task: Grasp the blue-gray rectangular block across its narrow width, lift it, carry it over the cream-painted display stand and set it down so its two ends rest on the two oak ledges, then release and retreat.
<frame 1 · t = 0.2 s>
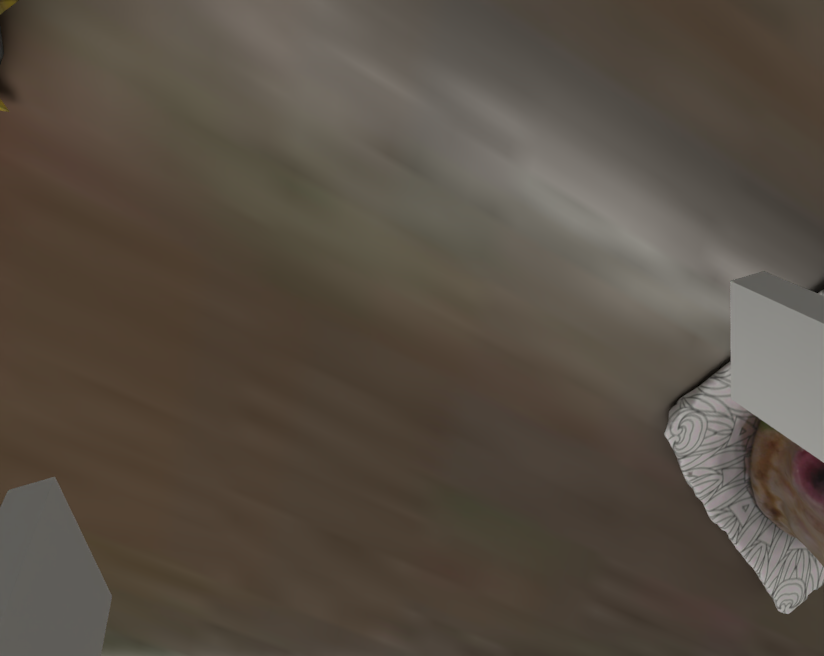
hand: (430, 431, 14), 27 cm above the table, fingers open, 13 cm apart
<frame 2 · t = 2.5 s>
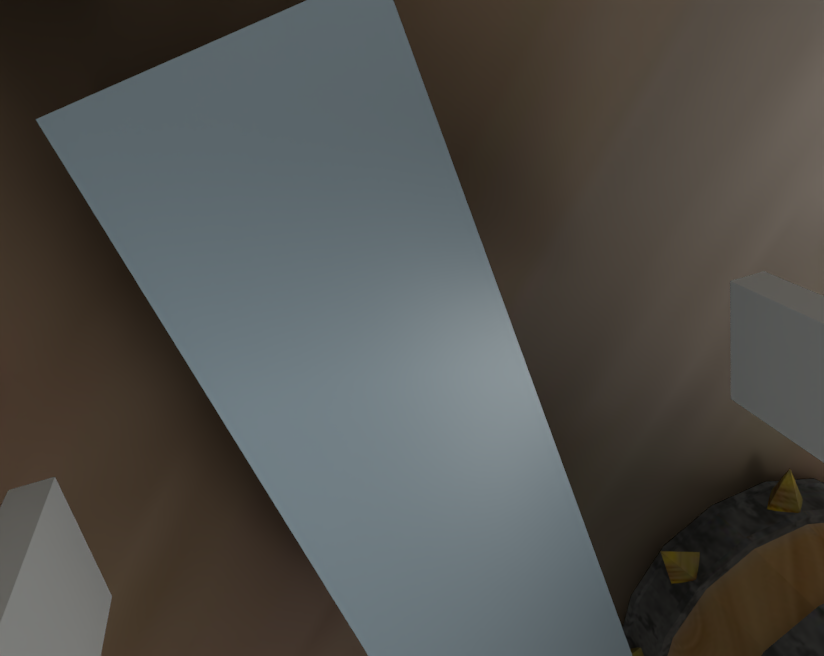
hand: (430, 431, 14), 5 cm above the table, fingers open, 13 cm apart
blue-gray rectangular block: (351, 338, 18), on the table
mug: (705, 642, 26), on the table
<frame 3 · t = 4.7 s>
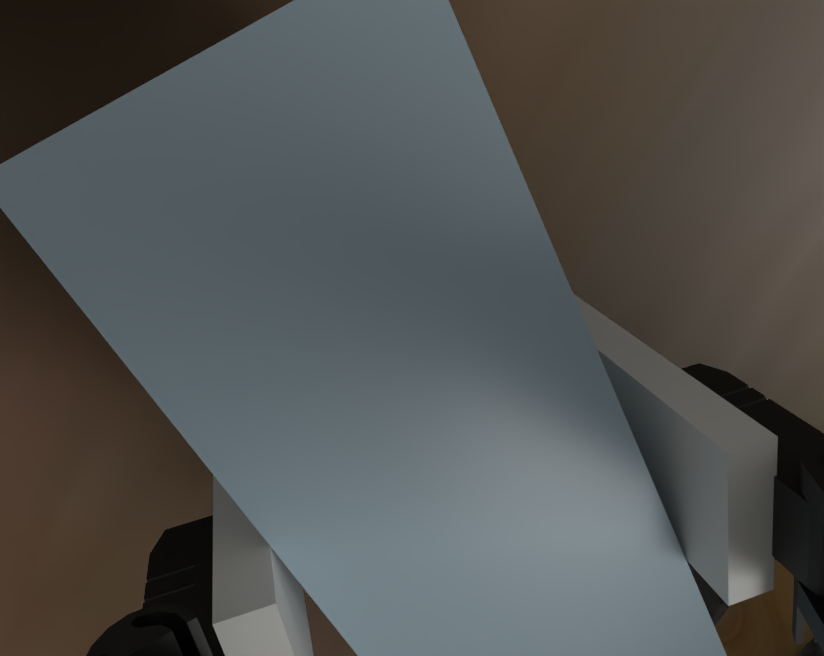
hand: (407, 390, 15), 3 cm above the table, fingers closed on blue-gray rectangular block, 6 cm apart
blue-gray rectangular block: (400, 377, 16), point 3 cm above the table, touching gripper
mug: (744, 636, 26), on the table
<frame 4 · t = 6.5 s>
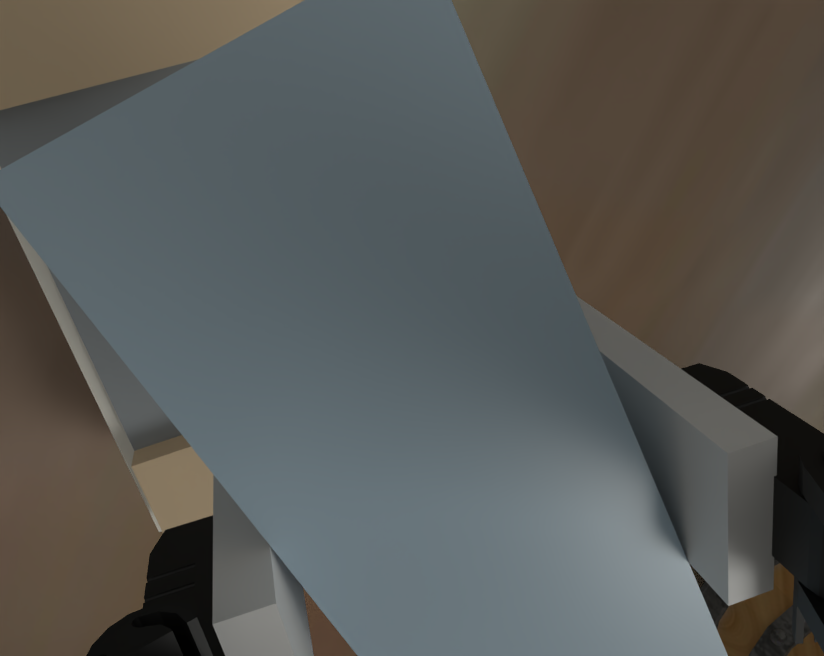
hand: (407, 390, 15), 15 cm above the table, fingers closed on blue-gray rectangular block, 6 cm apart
blue-gray rectangular block: (402, 379, 16), point 15 cm above the table, touching gripper
stand: (260, 200, 28), on the table
mug: (737, 623, 45), on the table
when the fingers open (7 cm above the table, at t = 8.5 s): blue-gray rectangular block stays where it is, resting on stand.
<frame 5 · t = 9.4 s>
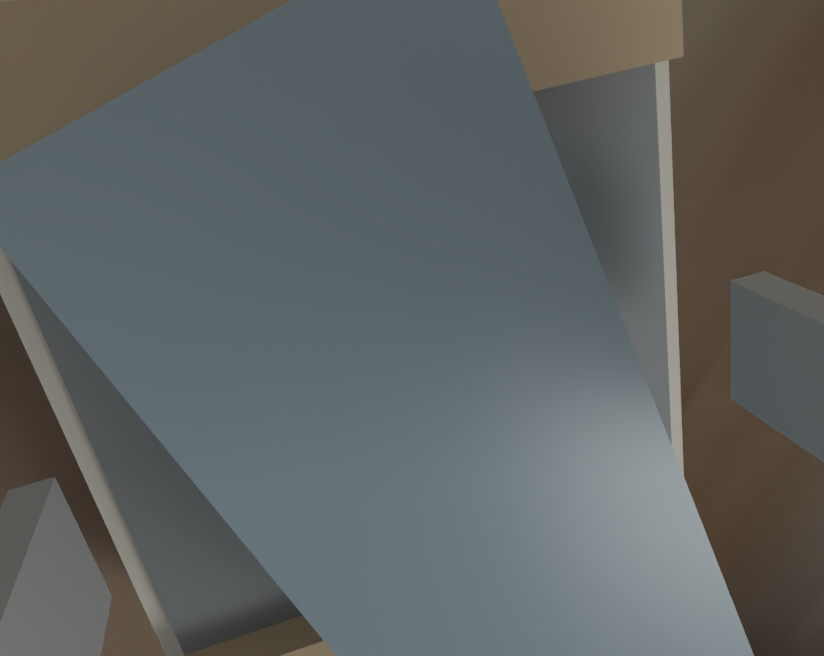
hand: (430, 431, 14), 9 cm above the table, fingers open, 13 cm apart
blue-gray rectangular block: (415, 392, 15), point 7 cm above the table, touching stand
stand: (352, 290, 21), on the table
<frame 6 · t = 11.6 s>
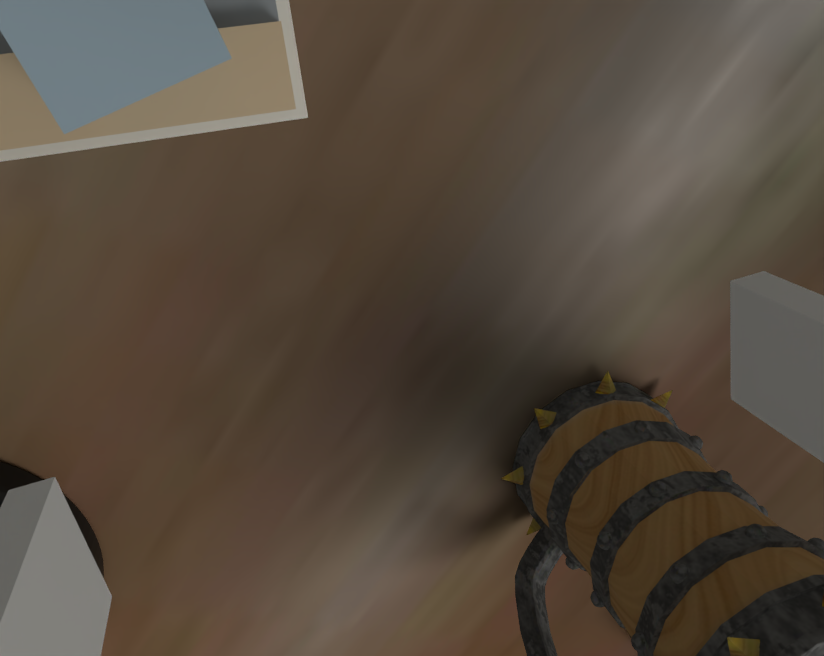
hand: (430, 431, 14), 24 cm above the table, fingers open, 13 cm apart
mug: (565, 478, 45), on the table
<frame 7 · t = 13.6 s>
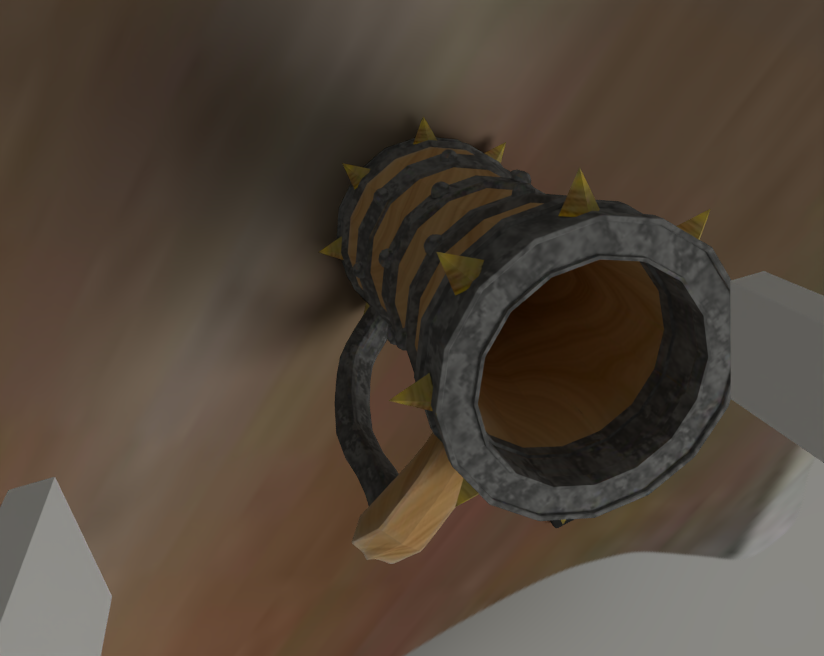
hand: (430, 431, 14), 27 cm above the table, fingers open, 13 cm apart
mug: (403, 259, 41), on the table
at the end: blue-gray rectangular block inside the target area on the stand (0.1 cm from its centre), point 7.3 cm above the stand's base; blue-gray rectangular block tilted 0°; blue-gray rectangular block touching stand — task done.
